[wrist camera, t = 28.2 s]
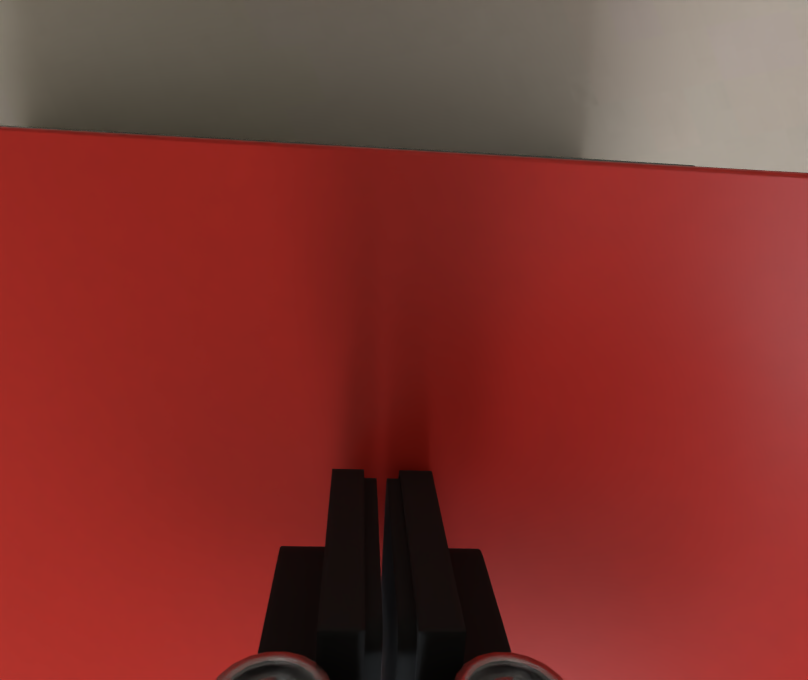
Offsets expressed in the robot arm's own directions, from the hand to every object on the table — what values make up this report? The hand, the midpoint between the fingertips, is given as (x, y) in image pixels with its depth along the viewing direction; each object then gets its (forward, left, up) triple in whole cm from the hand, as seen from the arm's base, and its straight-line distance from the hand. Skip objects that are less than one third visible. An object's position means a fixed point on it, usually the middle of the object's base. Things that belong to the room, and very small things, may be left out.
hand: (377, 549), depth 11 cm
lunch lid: (0, -2, -2) cm, 3 cm away
